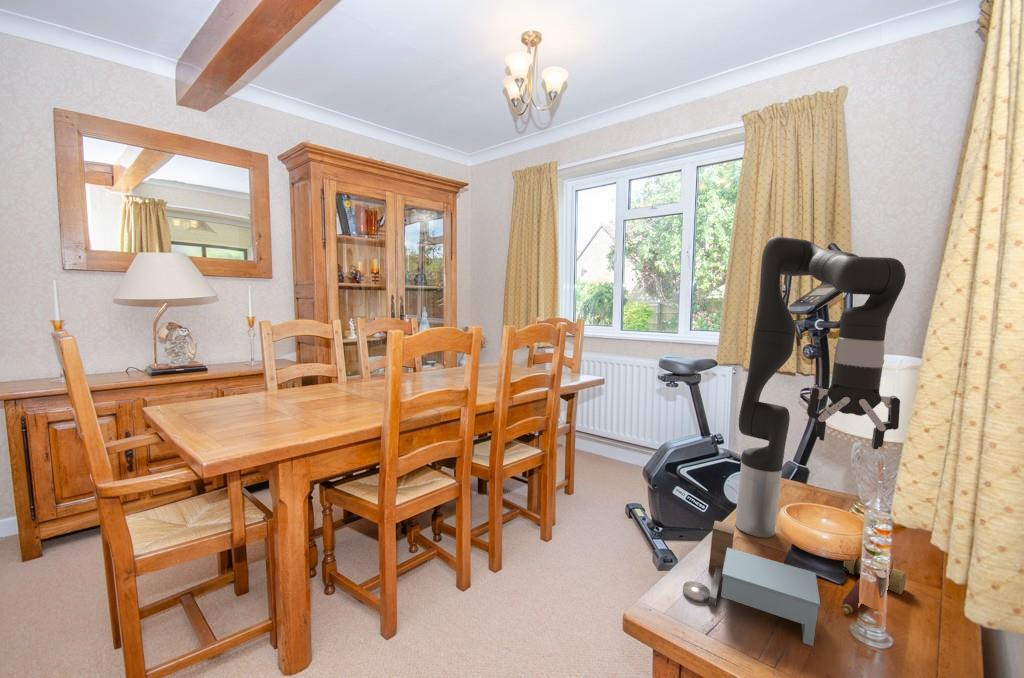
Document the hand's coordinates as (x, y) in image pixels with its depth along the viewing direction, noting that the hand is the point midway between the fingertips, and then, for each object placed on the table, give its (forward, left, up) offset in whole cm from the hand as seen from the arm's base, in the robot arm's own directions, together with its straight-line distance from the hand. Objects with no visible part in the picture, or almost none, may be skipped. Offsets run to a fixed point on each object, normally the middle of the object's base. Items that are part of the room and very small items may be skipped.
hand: (847, 443), depth 90 cm
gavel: (-5, +6, -33) cm, 34 cm away
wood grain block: (+9, -20, -32) cm, 39 cm away
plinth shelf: (+13, -11, -32) cm, 36 cm away
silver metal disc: (+15, -23, -32) cm, 42 cm away
